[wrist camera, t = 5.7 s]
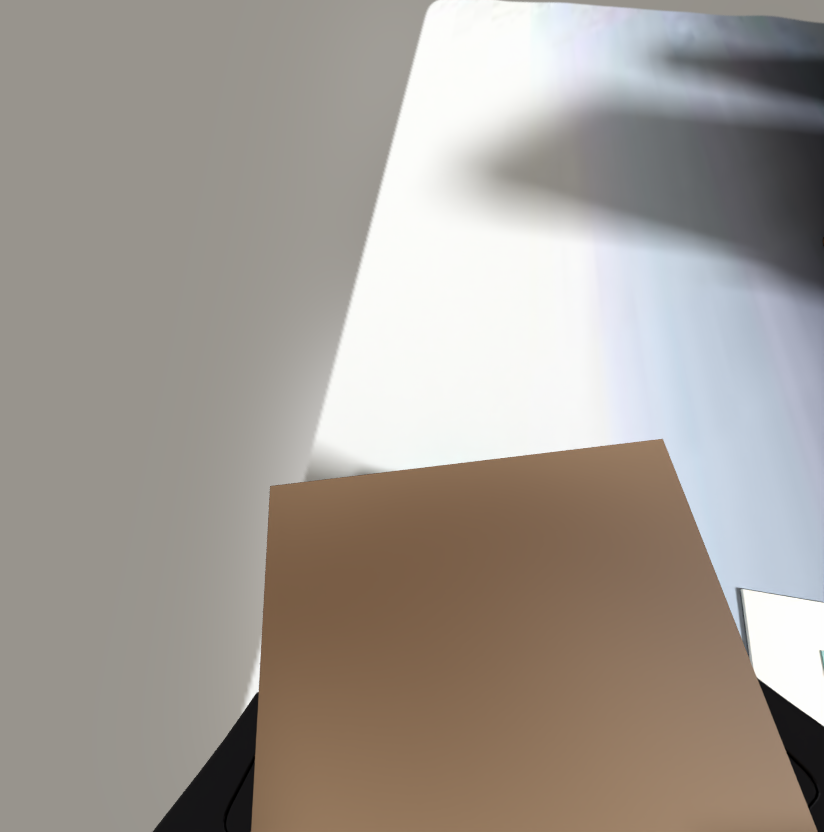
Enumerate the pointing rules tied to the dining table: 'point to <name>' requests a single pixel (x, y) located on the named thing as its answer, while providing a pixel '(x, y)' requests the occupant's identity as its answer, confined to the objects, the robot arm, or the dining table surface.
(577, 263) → the dining table surface
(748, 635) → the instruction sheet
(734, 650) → the column brick
